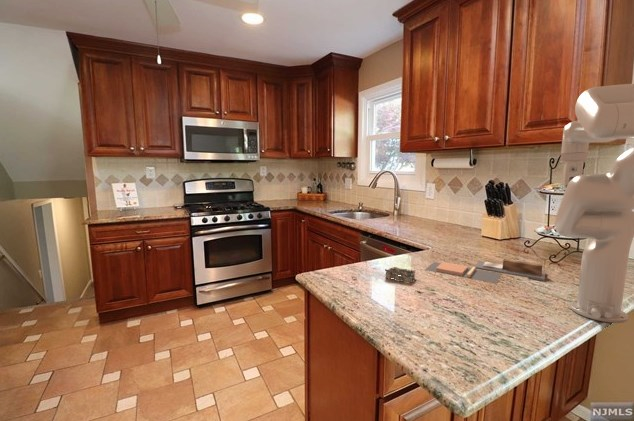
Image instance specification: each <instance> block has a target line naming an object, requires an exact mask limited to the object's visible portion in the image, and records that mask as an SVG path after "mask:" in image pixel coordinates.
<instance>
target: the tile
mask: <svg viewBox="0 0 634 421" xmlns="http://www.w3.org/2000/svg"><path fill="white" fill-rule="evenodd" d="M440 263H441V264H440V265H439V266H438V267H437V268H436V271H440V272H445V273H450V274H456V275H461V276H462V275H463V274H464V273H465V272H466V270H467V269H468V268H469V266H468V265H462V264H459V263H458V264H457V263H452V262H446V261H442V262H440Z"/></svg>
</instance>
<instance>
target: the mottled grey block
mask: <svg viewBox="0 0 634 421" xmlns="http://www.w3.org/2000/svg"><path fill="white" fill-rule="evenodd" d="M384 270H385V278H386V277H387V278H389V279H391V278H394V279H396V280H403V281H405V282H412V283H413V280H415V277H416V271H417V270H412V269H411V270H410V269H407V268H399V267H397V266H393V267H392V266H391V268H388V269H386V268H385V269H384ZM398 275H401V276H398ZM387 278H386V279H387ZM389 279H388V280H389ZM394 279H393V280H394ZM412 279H413V280H412ZM391 280H392V279H391ZM396 280H395V281H396ZM403 281H402V282H403ZM405 282H404V283H405Z"/></svg>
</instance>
